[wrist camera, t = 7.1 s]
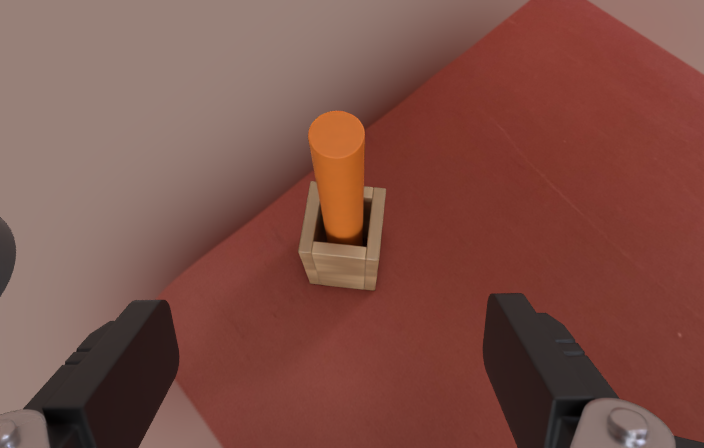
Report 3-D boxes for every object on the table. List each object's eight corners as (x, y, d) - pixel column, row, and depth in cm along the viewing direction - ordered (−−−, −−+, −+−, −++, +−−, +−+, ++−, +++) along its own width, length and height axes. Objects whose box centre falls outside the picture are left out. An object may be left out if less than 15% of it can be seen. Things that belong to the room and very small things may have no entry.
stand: (309, 283, 33) (297, 252, 26) (319, 223, 34) (310, 180, 28) (374, 291, 32) (378, 261, 26) (381, 230, 34) (386, 188, 28)
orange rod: (328, 269, 33) (303, 155, 18) (332, 239, 34) (312, 107, 19) (360, 273, 33) (361, 161, 18) (363, 243, 34) (367, 112, 19)
